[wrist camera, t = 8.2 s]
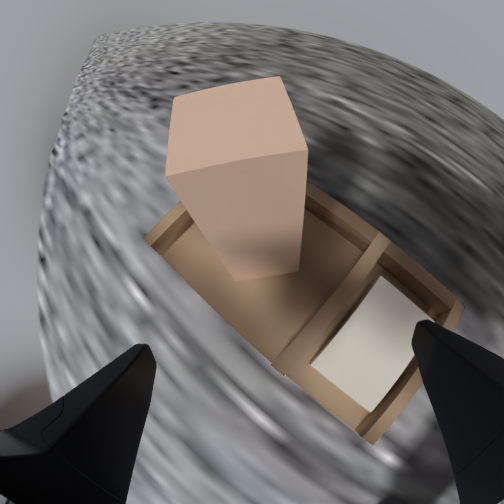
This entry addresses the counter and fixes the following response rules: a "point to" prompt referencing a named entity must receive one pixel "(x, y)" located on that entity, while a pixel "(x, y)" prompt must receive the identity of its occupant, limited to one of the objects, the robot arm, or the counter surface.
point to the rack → (311, 298)
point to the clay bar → (242, 174)
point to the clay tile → (371, 345)
